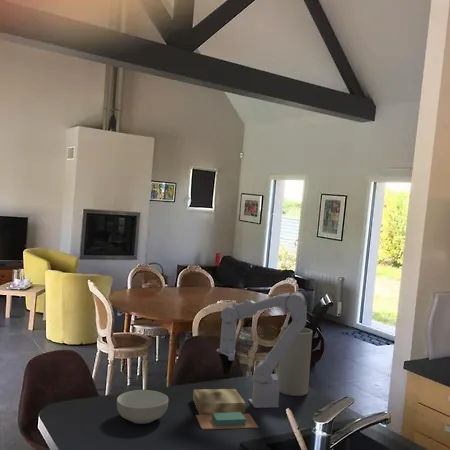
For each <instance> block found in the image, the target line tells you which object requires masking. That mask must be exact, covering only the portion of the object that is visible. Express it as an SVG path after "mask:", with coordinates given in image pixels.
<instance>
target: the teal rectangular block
mask: <svg viewBox="0 0 450 450" xmlns="http://www.w3.org/2000/svg"><path fill="white" fill-rule="evenodd" d="M212 420H213V421H214V423H215V425H216V426H238V425H246V419H245V417H244V416H243V414H242V413H241V412H230V413H212Z"/></svg>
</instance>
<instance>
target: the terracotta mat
mask: <svg viewBox="0 0 450 450" xmlns="http://www.w3.org/2000/svg"><path fill="white" fill-rule="evenodd" d="M243 416H244V417H245V419H246V425H238V426H216V425H215V423H214V421H213V420H212V415H200V414H196V415H195V417H196V419H198V420H197V421H198V425H199V427H200V429H201V428H202V429H201V430H227V429H228V430H229V429H230V430H231V429H232V430H233V429H258V428H259V426H258V424H257V423H256V422H255V419H254V418H253V417H252V416H251V414H250V413H245V414H243Z"/></svg>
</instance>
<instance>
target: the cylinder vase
mask: <svg viewBox="0 0 450 450" xmlns="http://www.w3.org/2000/svg"><path fill="white" fill-rule="evenodd" d="M288 326H289V325H287V326H281V327H280V337H281V336H282V335H283V333H284V332H285V331H286V329H287V328H288ZM312 341H313V330H312V329H310V328H307V327H304V328H303V329H302V330H301V332H300V333H299V334H298V336H297V337H296V338H295V340H294V341H293V343H292V344H291V345H290V347H289V348H288V349H287V351H286V352H285V353H284V355H283V356H282V358H281V359H280V360H279V362H278V363H277V366H278V367H277V381H278V383H279V394H280V393H281V394H283V395H286V396H291V397H302V396H305V395H307V394H308V392H309V383H310V382H309V381H310V372H311V371H310V367H311V357H312V356H311V355H312Z"/></svg>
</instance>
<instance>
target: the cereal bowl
mask: <svg viewBox="0 0 450 450" xmlns="http://www.w3.org/2000/svg"><path fill="white" fill-rule="evenodd" d="M168 407H169V397H168V396H167V395H166V394H164V393H163V392H160V391H156V390H148V389H136V390H129V391H125V392H123V393H121V394H120V395H118V397H117V398H116V409H117V411H118V414H119V415H120V417H122V418H123V419H125V420H128V421H130V422H132V423H134V424H137V425H138V424H139V425H144V424H150V423H151V422H152V423H153V422H154V421H156V420H158V419H160V418H161V417H162V416H164V415H165V413H166V412H167V410H168Z"/></svg>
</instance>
